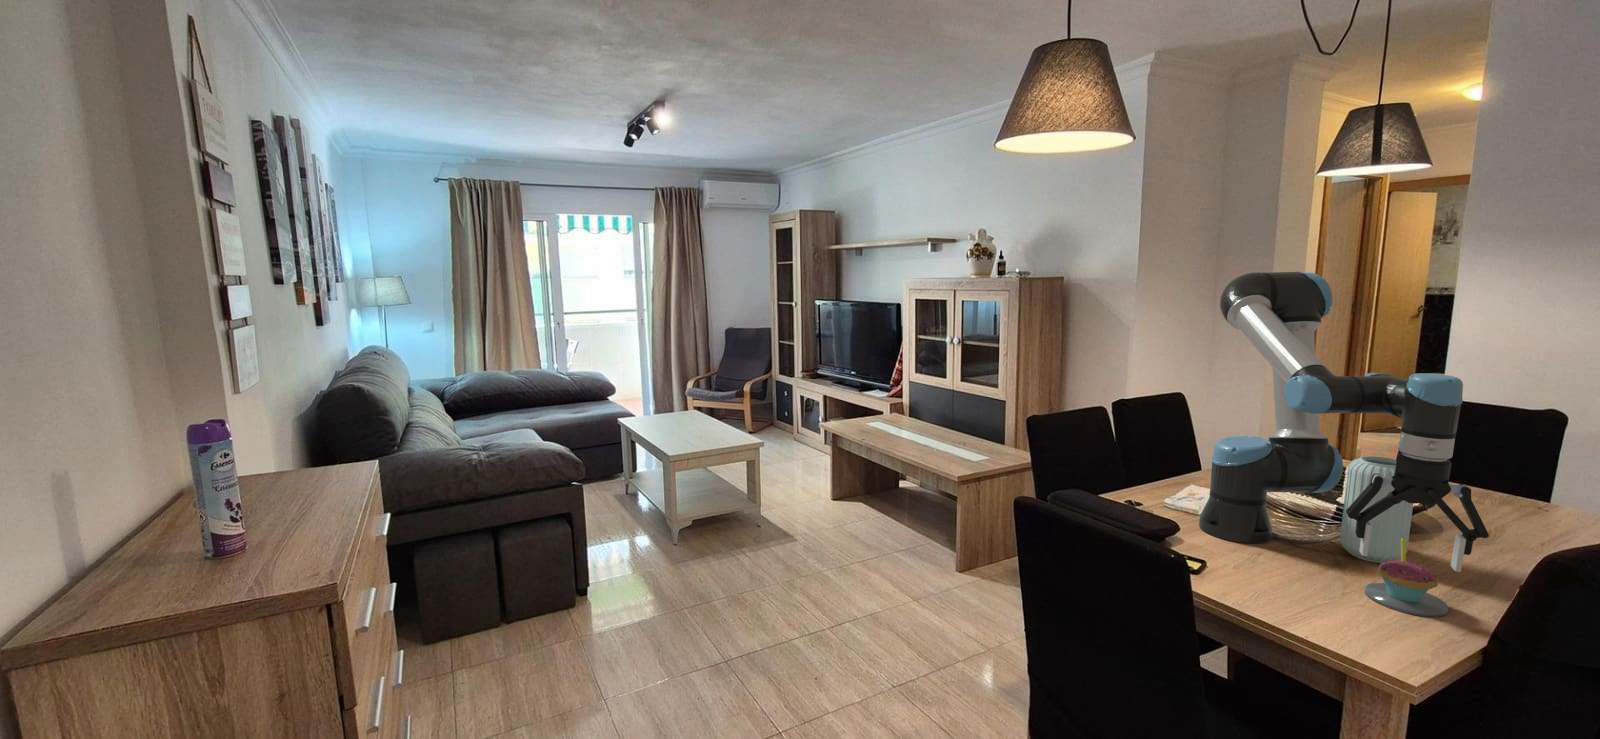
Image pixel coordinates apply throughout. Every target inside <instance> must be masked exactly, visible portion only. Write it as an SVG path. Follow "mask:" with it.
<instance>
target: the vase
mask: <svg viewBox="0 0 1600 739" xmlns="http://www.w3.org/2000/svg"><path fill="white" fill-rule="evenodd" d="M1396 461H1397V459H1394V458H1391V457H1390V458H1389V457H1385V456H1374V455H1373V456H1372V455H1369V456H1368V455H1365V456H1361V457H1360V458H1357V459H1355V460H1352V461H1351V462H1350V463H1349V465H1348V468H1347V475H1346V483H1345V493H1344V494H1345V495H1344V501H1343V502H1344V503H1343V509H1342V510H1343V511H1342V519H1341V520H1342V521H1341V526H1340V537H1339V542H1340V544H1341V546H1342V547H1343V549H1345V550H1346V551H1347V552H1348V553H1349V554H1350V555H1352V556H1353V557H1355V558H1358V559H1359V560H1363V561H1366V562H1371V563H1377V564H1381V563H1384V562H1385V561H1390V560H1395V559H1398V560H1399V559H1400V560H1401V539H1402V535H1403V538H1404V539H1405V544H1406V554H1407V553H1408V546H1409V539H1410V533H1411V532H1410V531H1411V524H1412V518H1413V517H1412V516H1413V509H1414V504H1413V503H1408V502H1406V501H1404V500H1403V501H1402V502H1400V503H1398V504H1395V505H1393V506H1392V507H1390V508H1389V509H1387V510H1385V511H1384V512H1382V513H1381V514H1379V515H1378V516H1376V517H1375V518H1373V519H1371V520H1370V521H1369V522H1370V524H1371V525H1372V526H1371V533H1370V540H1369V547H1368V554H1367V556H1362V554H1361V553H1360V551H1359V549H1360V542H1361V538H1358V537H1357V536H1356V533H1355V530H1356V523H1357V521H1356V520H1355V519H1351V518H1349V517H1348V515H1347V513H1346V510H1347V509H1348V508H1349V507H1350V506H1351V504H1352V503H1353V502H1354V501H1355V500H1356V499H1357V498H1358V497H1359V495H1360V494H1361V493H1362V492H1363V491H1364V490H1365V489H1366V488H1367V486H1368V485H1369V484H1370V482H1371V479H1372V476H1373V474H1375V473H1377V474H1379V475H1380V476H1384V477H1388V478H1392V477H1393V476H1394V474H1395V468H1396ZM1393 490H1394V488H1393V486H1392V485H1391V484H1387V485H1386V487H1384V488H1381V489H1380V491H1379V492H1378V493H1377V494H1376V495H1375V496H1374V498H1373V499H1372V500H1371V501H1370V502H1369V503H1368V504H1367V505H1366V506H1365V508H1364V509H1363V510H1362V511H1364V510H1365V509H1367V508H1368V507H1370V506H1371V505H1373V504H1375V503H1376V502H1378V501H1379V500H1381V499H1382V498H1384V497H1385V496H1387V495H1388V493H1390V492H1391V491H1393ZM1362 511H1361V512H1362ZM1361 512H1360V513H1361Z"/></svg>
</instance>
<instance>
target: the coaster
mask: <svg viewBox="0 0 1600 739" xmlns="http://www.w3.org/2000/svg"><path fill="white" fill-rule="evenodd" d="M1364 593H1365V595H1366V596H1367V598H1369V599H1370V600H1372V601H1373V602H1375V603H1377V604H1378V605H1381V606H1383V607H1385V608H1389V609H1391V610H1393V611H1396V612H1397V611H1398V612H1400V613H1404V614H1409V615H1413V616H1418V617H1419V616H1420V617H1427V618H1428V617H1429V618H1439V617H1444V616H1446V615H1447V614H1448V611H1449V606H1448V604H1447V602H1445V601H1443V600H1442V599H1441V598H1438V596H1436V595H1433V594H1431V593H1428V592H1426V593H1425V594H1424V596H1423V597H1422V599H1421V600H1420V602H1416V603H1412V602H1405V601H1401V600H1398V599H1396V598H1393V597H1391V596H1390V595H1389V594H1388V592H1387V588H1386V585H1385V582H1373V583H1369V584H1367V585H1366V586H1365V588H1364Z"/></svg>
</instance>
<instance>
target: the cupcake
mask: <svg viewBox="0 0 1600 739" xmlns="http://www.w3.org/2000/svg"><path fill="white" fill-rule="evenodd" d="M1378 575H1379V576H1380V577H1381V578H1382V580H1383V583H1385V585H1386V588H1387V592H1388V594H1389V595H1390V596H1391V597H1393V598H1396V599H1398V600H1401V601H1405V602H1412V603H1416V602H1420V600H1421V599H1422V597H1423V596H1424V594H1425V593H1428V591H1429V590H1431V589H1433V588H1437V587H1438V585H1439V579H1438V576H1437V575H1436V574H1435V573H1433V571H1431V569H1428V568H1427V567H1426V566H1425V565H1422V564H1420V563H1419V562H1418V563H1417V562H1413V561H1411V560H1410V561H1409V560H1407V553H1406V544H1405V539H1404V538H1403V535H1402V539H1401V560H1400V559H1399V560H1398V559H1395V560H1390V561H1385V562H1384V563H1379V565H1378Z"/></svg>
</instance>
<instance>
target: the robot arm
mask: <svg viewBox="0 0 1600 739" xmlns="http://www.w3.org/2000/svg"><path fill="white" fill-rule="evenodd" d="M1333 299H1334V298H1333V292H1332V288H1331V286H1330V285H1329V282H1328V281H1327V280H1326V279H1325V278H1324V277H1323V276H1321V275H1320V274H1318V273H1314V272H1302V271H1286V272H1283V271H1279V272H1274V271H1273V272H1261V271H1260V272H1259V271H1258V272H1257V271H1256V272H1248V273H1244V274H1242V275H1239V276H1238V277H1236V278H1234V279H1232V280H1231V281H1230V282H1229V283H1228V284H1227V285H1226V286H1225V288H1224V289H1223V291H1222V293H1221V296H1220V299H1219V308H1220V312H1221V314H1222V316H1223V318H1224V320H1226V322H1227V323H1228V324H1229V325H1230V326H1231V327H1233V328H1234V329H1237V330H1240V331H1241V332H1242V333H1243V334H1244V336H1245V337H1246V338H1247V339H1248V340H1249V341H1250V342H1251V344H1252V346H1254V347H1255V348H1256V350H1257V351H1258V352H1259V354H1261V355H1262V357H1263V358H1264V359H1265V360H1266V361H1267V363H1268V364H1269V365H1270V366H1271V368H1272V380H1273V381H1272V382H1273V383H1272V384H1273V386H1272V387H1273V402H1274V417H1275V418H1274V419H1275V420H1274V421H1275V430H1274V431H1273V432H1272V433H1271V434H1270V435H1269V436H1268V439H1266V438H1263V437H1258V436H1247V435H1242V436H1241V435H1237V436H1230V437H1224V438H1222V439H1220V440H1218V441H1217V442H1216V443H1215V444H1214V447H1213V451H1212V456H1211V461H1212V462H1211V472H1210V486H1209V497H1208V499H1207V501H1206V502H1205V505H1204V507H1203V509H1202V511H1201V513H1200V516H1199V519H1198V520H1199V521H1198V527H1199V529H1201V531H1203V532H1205V533H1206V534H1209V535H1210V536H1213V537H1216V538H1219V539H1223V540H1228V541H1233V542H1235V543H1236V542H1238V543H1246V544H1261V543H1267V542H1269V541H1271V540H1272V535H1273V527H1272V522H1271V520H1270V517H1269V513H1268V510H1267V497H1268V496H1267V495H1268V493H1297V494H1298V493H1300V494H1301V493H1303V494H1307V495H1308V494H1313V493H1318V494H1319V493H1326V492H1328V491H1329V492H1330V491H1331V490H1333V489H1334V488H1335V486H1336V485H1338V483H1339V482H1340V481H1341V478H1342V475H1343V470H1344V462H1343V457H1342V455H1341V454H1340V451H1339V449H1337V447H1335V446H1333V445H1331V444H1329V437H1328V436H1327V435H1326V434H1325V433H1323V432H1322V431H1321V429H1320V414H1382V415H1383V414H1384V415H1390V416H1393V417H1396V418H1400V419H1402V422H1401V424H1402V425H1401V429H1400V436H1399V442H1398V443H1399V444H1398V448H1397V449H1398V450H1399V453H1398V454H1397V456H1396V460H1397V461H1396V468H1395V474H1394V476H1393V477H1392V478H1388V477H1384V476H1380V475H1379V474H1377V473H1375V474H1373V476H1372V479H1371V482H1370V484H1369V485H1368V486H1367V488H1366V489H1365V490H1364V491H1363V492H1362V493H1361V494H1360V495H1359V497H1358V498H1357V499H1356V500H1355V501H1354V502H1353V503H1352V504H1351V506H1350V507H1349V508H1348V509H1347V510H1346V513H1347V515H1348V517H1349V518H1351V519H1355V520H1356V521H1357V523H1356V530H1355V533H1356V536H1357V537H1358V538H1361V542H1360V549H1359V551H1360V553H1361V554H1362V556H1367V554H1368V547H1369V540H1370V533H1371V526H1372V525H1371V524H1370V522H1369V521H1370V520H1371V519H1373V518H1375V517H1376V516H1378V515H1379V514H1381V513H1382V512H1384V511H1385V510H1387V509H1389V508H1390V507H1392V506H1393V505H1395V504H1398V503H1400V502H1402V501H1403V500H1404V501H1406V502H1408V503H1413V505H1414V504H1420V505H1423V506H1431V505H1435V504H1436V505H1437V507H1439V509H1440V510H1441V511H1442V512H1443V513H1444V514H1445V516H1447V518H1448V519H1449V520H1450V522H1452V523H1453V525H1454V526H1455V527H1456V528H1457V530H1459V531H1460V532H1461V533H1462V534H1460V533H1455V538H1454V543H1453V549H1452V555H1451V562H1450V567H1451V568H1452V569H1453V571H1454V572H1455V573H1456V572H1457V573H1461V572H1462V567H1463V561H1464V555H1467V556H1470V555H1471V554H1472V550H1473V544H1474V541H1477V539H1479V538H1482V539H1487V538H1488V539H1489V536H1490V535H1489V532H1488V530H1487V528H1486V526H1485V524H1484V522H1483V520H1482V518H1481V516H1480V514H1479V513H1478V510H1477V509H1476V506H1475V504H1474V503H1473V502H1474V501H1472V489H1471V488H1470V487H1469V486H1468V485H1467V484H1465V483H1459V484H1458V485H1457V484H1456V485H1455V484H1454V485H1453V484H1449V481H1450V480H1449V479H1450V475H1451V468H1452V462H1451V460H1450V459H1452V458H1453V454H1454V450H1455V441H1456V436H1457V432H1458V431H1457V430H1458V424H1459V419H1460V418H1459V417H1460V412H1461V407H1462V404H1463V402H1464V400H1463V389H1464V382H1463V380H1461V378H1459V377H1457V376H1453V375H1447V374H1446V375H1445V374H1440V373H1426V372H1425V373H1424V372H1423V373H1422V372H1420V373H1419V372H1418V373H1414V374H1411V375H1409V377H1408V379H1406V378H1402V377H1397V376H1394V375H1391V374H1389V373H1376V372H1370V373H1369V372H1368V373H1366V374H1363V375H1355V376H1354V375H1334V374H1333V373H1332V371H1331V370H1330V369H1328V367H1326V366H1325V365H1324V364H1323V363H1322V362H1321V360H1320V359H1319V357H1317V356H1316V352H1315V351H1316V348H1315V331H1316V330H1317V329H1318V328H1319V327H1320V326H1322V319H1324V318H1325V317H1326V316H1327V315H1328V314H1329V313H1330V311H1331V309H1330V308H1331V307H1332V305H1333ZM1387 484H1391V485H1392V486H1393V488H1394V490H1393V491H1391V492H1390V493H1388V495H1387V496H1385V497H1384V498H1382V499H1381V500H1379V501H1378V502H1376V503H1375V504H1373V505H1371V506H1370V507H1368V508H1367V509H1365V510H1364V511H1362V510H1363V509H1364V508H1365V506H1366V505H1367V504H1368V503H1369V502H1370V501H1371V500H1372V499H1373V498H1374V496H1375V495H1376V494H1377V493H1378V492H1379V491H1380V489H1381V488H1384V487H1386V485H1387ZM1451 492H1452V493H1453V495H1454V496H1455V497H1456V498H1459V501H1460V503H1461V505H1462V507H1463V509H1464V511H1465V513H1466V516H1467V518H1468V519H1469V521H1470V523H1471V525H1472V527H1473V528H1472V529H1471V528H1469V527H1468V526H1467V525H1466V523H1464V522H1463V521H1462V519H1460V517H1459V516H1458V515H1457V514H1456V513H1455V512H1454V511H1453V510H1452V508H1450V506H1449V505H1448V504H1447V503H1446V502H1445V500H1444V499H1443V498H1444V497H1446V496H1447V495H1449V494H1450V493H1451ZM1361 511H1362V512H1361ZM1360 512H1361V513H1360Z"/></svg>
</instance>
